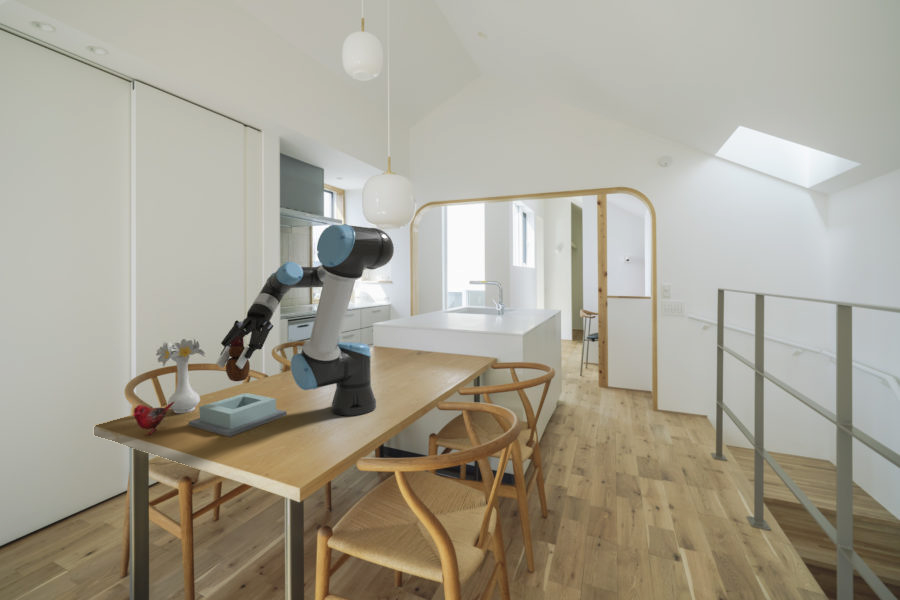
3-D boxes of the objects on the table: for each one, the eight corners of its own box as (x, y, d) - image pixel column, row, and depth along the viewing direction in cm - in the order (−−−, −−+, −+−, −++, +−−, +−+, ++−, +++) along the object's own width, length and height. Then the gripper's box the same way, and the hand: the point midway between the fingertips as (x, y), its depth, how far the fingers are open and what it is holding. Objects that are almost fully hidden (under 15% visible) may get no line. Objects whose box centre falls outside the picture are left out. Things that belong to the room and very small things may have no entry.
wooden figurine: (253, 378, 128) (252, 333, 127) (239, 383, 123) (237, 335, 122) (238, 377, 130) (236, 332, 130) (222, 381, 125) (220, 334, 124)
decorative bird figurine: (129, 443, 109) (127, 408, 108) (170, 420, 127) (169, 389, 126) (140, 443, 109) (138, 408, 109) (179, 420, 127) (178, 389, 126)
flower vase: (182, 402, 145) (179, 334, 144) (218, 408, 139) (215, 337, 137) (144, 413, 133) (140, 340, 132) (181, 420, 126) (177, 343, 125)
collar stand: (286, 414, 131) (286, 398, 131) (229, 436, 113) (229, 417, 113) (247, 406, 140) (246, 390, 140) (188, 425, 122) (187, 407, 122)
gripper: (292, 316, 138) (262, 373, 123) (244, 315, 142) (210, 370, 127) (282, 302, 133) (249, 360, 118) (233, 302, 137) (195, 358, 122)
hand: (229, 365), depth 123 cm, fingers closed on wooden figurine, 6 cm apart
